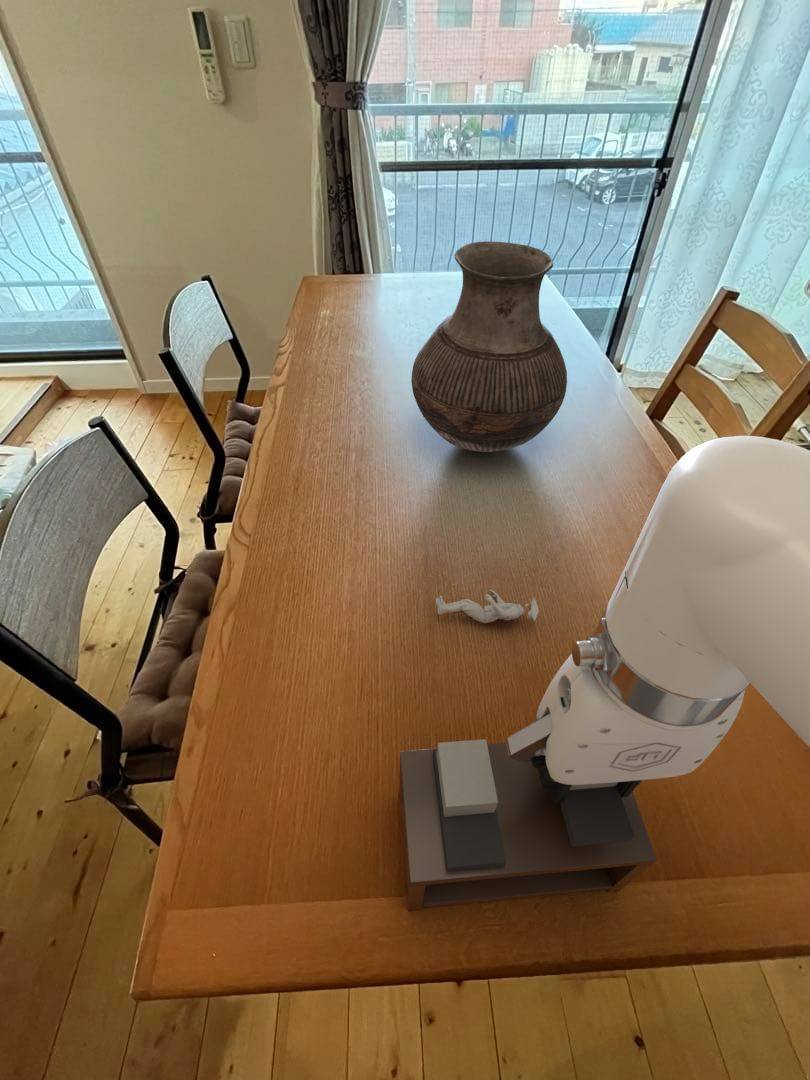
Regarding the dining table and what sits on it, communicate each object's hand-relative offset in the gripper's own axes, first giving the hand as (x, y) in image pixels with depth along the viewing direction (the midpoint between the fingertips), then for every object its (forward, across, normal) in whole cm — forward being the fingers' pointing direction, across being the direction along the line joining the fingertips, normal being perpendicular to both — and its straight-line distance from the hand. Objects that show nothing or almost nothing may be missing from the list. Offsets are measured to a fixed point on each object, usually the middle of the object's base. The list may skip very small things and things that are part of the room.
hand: (583, 779), depth 43 cm
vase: (+14, +5, +63) cm, 65 cm away
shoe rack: (+14, -4, 0) cm, 14 cm away
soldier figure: (+14, -2, +25) cm, 29 cm away
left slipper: (+4, -9, 0) cm, 10 cm away
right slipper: (+1, 0, 0) cm, 1 cm away
